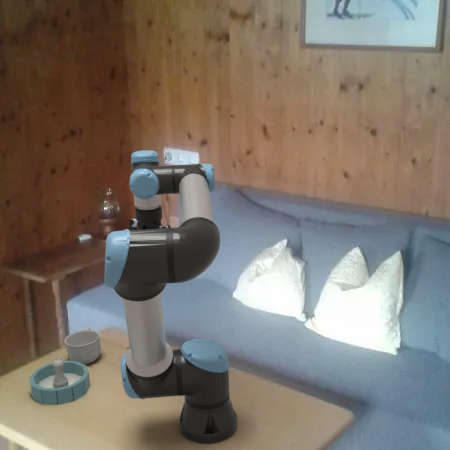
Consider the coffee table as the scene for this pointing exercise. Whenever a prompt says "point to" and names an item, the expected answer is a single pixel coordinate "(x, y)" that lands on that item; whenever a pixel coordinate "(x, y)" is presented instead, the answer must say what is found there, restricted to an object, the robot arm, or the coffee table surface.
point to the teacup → (83, 346)
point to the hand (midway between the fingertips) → (153, 276)
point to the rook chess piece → (59, 374)
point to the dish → (49, 395)
